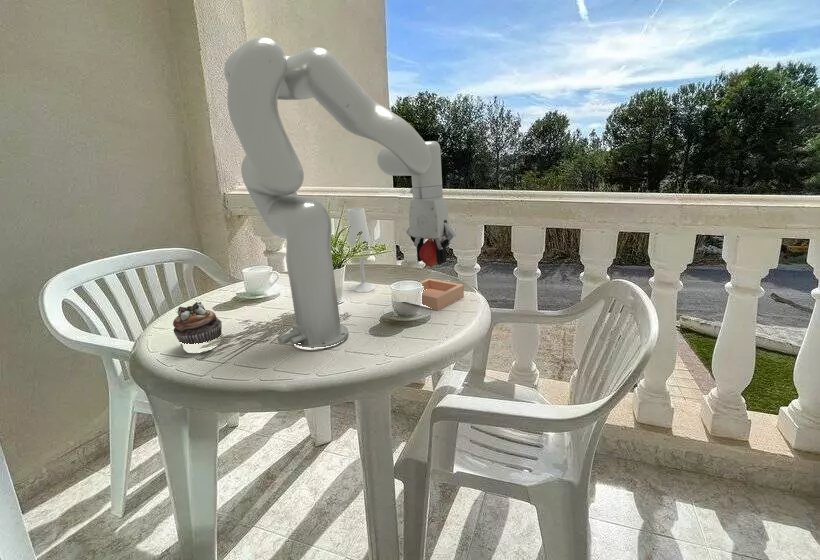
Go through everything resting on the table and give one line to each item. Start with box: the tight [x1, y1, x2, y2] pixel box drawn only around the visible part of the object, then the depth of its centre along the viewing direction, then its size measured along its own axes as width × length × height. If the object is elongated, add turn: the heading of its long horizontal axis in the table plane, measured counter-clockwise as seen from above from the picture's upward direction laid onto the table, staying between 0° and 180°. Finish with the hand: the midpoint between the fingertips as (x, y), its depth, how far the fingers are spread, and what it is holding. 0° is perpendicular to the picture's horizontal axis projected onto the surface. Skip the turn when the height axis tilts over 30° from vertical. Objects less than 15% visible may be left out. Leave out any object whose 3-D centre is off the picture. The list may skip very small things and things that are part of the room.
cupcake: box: [172, 301, 223, 344], centre depth 94 cm, size 10×10×10 cm
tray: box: [419, 278, 465, 312], centre depth 114 cm, size 12×12×3 cm
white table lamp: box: [347, 207, 376, 293], centre depth 124 cm, size 7×7×24 cm
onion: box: [419, 239, 439, 268], centre depth 110 cm, size 6×6×8 cm
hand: (431, 261), depth 111 cm, fingers closed on onion, 5 cm apart
